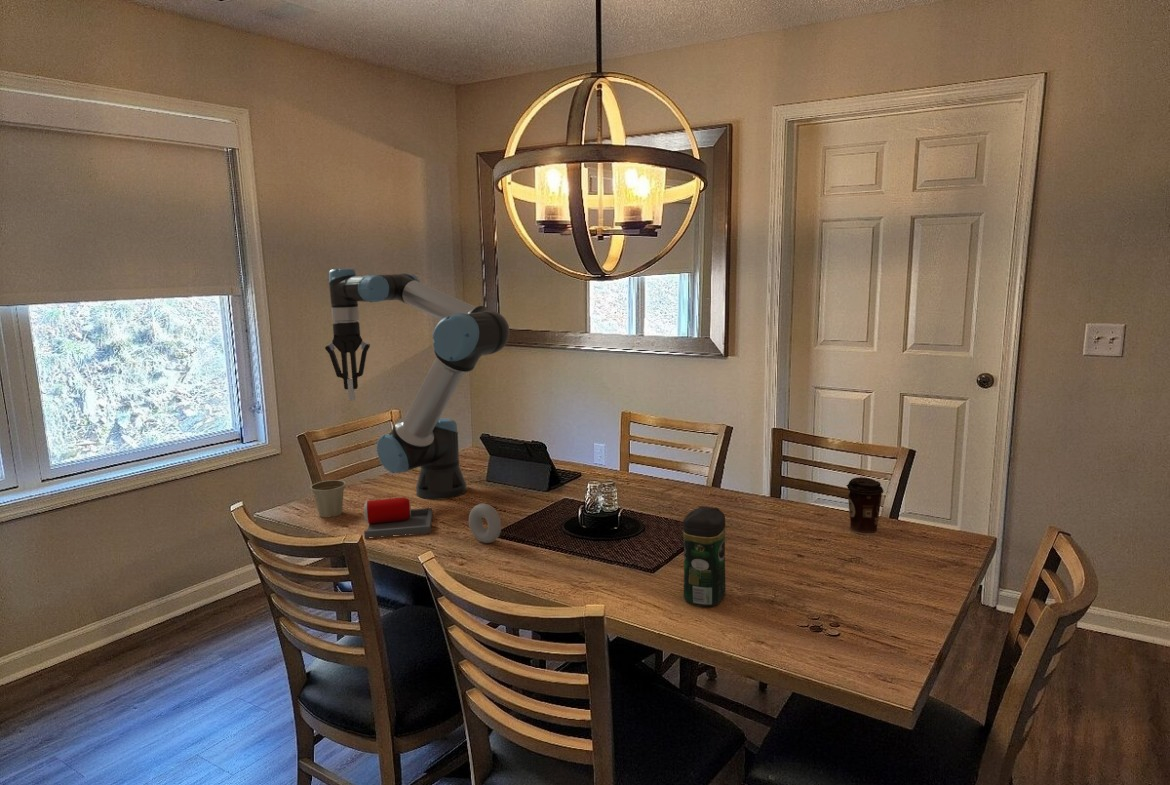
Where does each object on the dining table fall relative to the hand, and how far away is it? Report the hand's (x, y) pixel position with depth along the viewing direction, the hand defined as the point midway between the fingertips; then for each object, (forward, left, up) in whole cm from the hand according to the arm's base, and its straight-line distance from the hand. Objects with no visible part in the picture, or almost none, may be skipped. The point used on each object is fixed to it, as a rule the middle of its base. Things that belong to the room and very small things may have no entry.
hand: (352, 399), depth 218 cm
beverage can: (-5, +30, -26) cm, 40 cm away
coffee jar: (-80, +91, -30) cm, 124 cm away
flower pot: (+5, +18, -30) cm, 35 cm away
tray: (-15, +33, -30) cm, 46 cm away
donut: (-37, +50, -30) cm, 69 cm away
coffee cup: (-131, +64, -30) cm, 149 cm away
